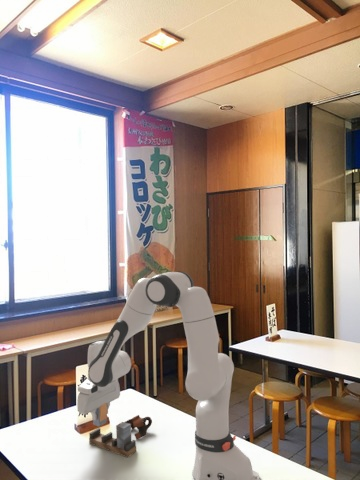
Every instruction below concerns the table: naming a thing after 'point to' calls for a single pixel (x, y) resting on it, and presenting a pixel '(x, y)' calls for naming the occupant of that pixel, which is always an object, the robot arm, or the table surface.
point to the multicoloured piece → (101, 415)
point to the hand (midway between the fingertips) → (100, 416)
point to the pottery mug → (140, 425)
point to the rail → (115, 440)
